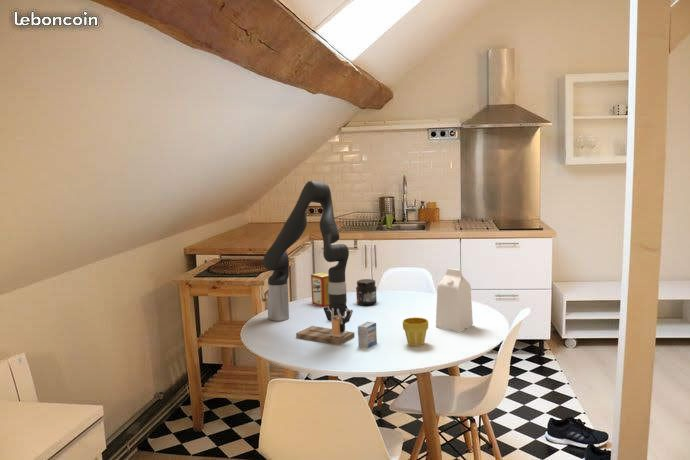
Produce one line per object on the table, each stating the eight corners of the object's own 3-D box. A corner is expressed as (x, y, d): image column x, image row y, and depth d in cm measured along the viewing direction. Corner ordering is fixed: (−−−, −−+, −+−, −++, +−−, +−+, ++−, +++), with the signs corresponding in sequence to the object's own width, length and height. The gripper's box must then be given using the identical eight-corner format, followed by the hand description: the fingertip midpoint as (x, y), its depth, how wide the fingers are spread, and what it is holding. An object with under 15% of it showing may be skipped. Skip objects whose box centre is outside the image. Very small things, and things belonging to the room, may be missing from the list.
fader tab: (329, 335, 256) (329, 320, 255) (337, 331, 261) (337, 316, 260) (339, 337, 253) (339, 321, 252) (347, 333, 258) (347, 317, 257)
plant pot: (402, 339, 254) (401, 317, 253) (427, 339, 254) (426, 316, 253) (404, 348, 244) (403, 324, 243) (429, 347, 244) (429, 323, 242)
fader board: (296, 337, 262) (296, 332, 261) (312, 330, 272) (312, 325, 272) (339, 345, 250) (339, 340, 250) (354, 337, 260) (354, 332, 260)
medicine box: (367, 348, 245) (367, 327, 244) (358, 346, 248) (357, 326, 246) (377, 342, 252) (376, 322, 251) (367, 341, 254) (367, 321, 253)
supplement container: (357, 301, 320) (357, 278, 318) (377, 301, 319) (377, 278, 317) (355, 306, 310) (354, 283, 308) (375, 306, 308) (375, 283, 307)
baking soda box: (333, 304, 314) (332, 274, 312) (323, 307, 310) (322, 276, 308) (322, 301, 321) (321, 271, 319) (312, 303, 317) (311, 273, 315)
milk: (472, 325, 271) (472, 268, 267) (458, 332, 262) (458, 273, 259) (450, 321, 279) (449, 265, 275) (435, 327, 271) (435, 269, 267)
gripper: (318, 291, 255) (319, 331, 257) (346, 295, 247) (348, 336, 250) (328, 288, 261) (329, 327, 264) (356, 291, 254) (357, 331, 256)
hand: (338, 331), depth 257 cm, fingers closed on fader tab, 3 cm apart
